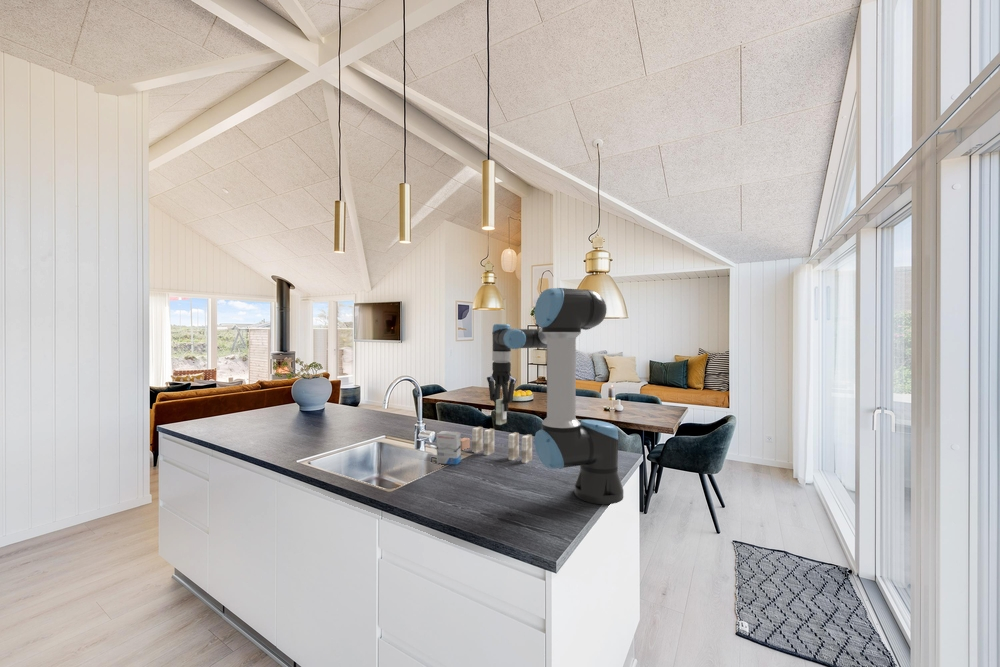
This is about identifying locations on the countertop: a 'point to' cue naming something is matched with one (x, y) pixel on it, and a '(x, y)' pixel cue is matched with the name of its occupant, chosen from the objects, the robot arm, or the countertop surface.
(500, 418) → the domino
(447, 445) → the ink box
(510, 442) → the domino
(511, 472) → the countertop surface
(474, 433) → the domino
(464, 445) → the end stop
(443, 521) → the countertop surface
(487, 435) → the domino
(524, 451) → the domino
